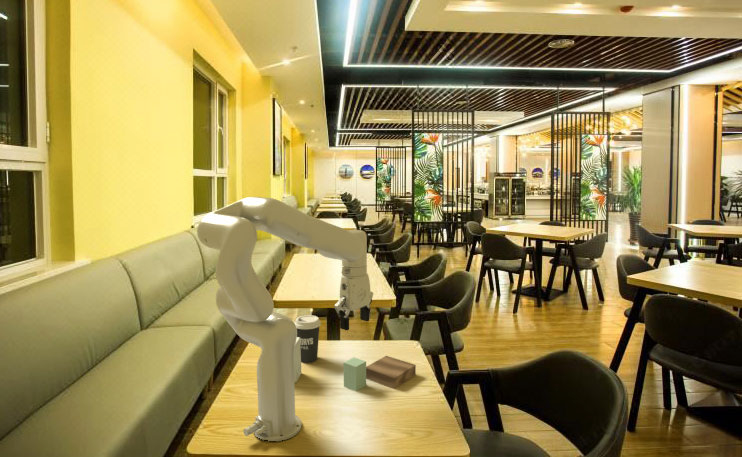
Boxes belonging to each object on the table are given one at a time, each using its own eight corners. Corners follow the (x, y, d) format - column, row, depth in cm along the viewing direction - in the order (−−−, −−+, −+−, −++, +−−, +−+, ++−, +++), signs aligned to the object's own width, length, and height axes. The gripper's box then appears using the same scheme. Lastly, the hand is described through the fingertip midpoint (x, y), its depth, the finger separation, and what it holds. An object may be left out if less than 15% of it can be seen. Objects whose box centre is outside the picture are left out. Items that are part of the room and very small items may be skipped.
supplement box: (302, 372, 160) (301, 336, 158) (296, 383, 152) (295, 345, 150) (280, 371, 160) (279, 336, 158) (273, 382, 153) (272, 344, 151)
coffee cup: (292, 355, 173) (291, 315, 171) (318, 352, 176) (317, 313, 174) (296, 366, 164) (295, 324, 162) (324, 362, 167) (323, 321, 165)
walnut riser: (394, 390, 149) (394, 378, 148) (364, 379, 156) (364, 367, 155) (415, 376, 158) (415, 364, 157) (386, 366, 165) (386, 355, 165)
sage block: (356, 391, 147) (355, 366, 146) (343, 386, 150) (343, 362, 149) (366, 385, 151) (366, 361, 150) (354, 380, 154) (353, 357, 153)
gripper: (345, 278, 136) (345, 335, 139) (381, 267, 149) (381, 319, 152) (325, 274, 140) (326, 330, 143) (362, 263, 154) (363, 314, 157)
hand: (354, 324), depth 148 cm, fingers open, 9 cm apart
